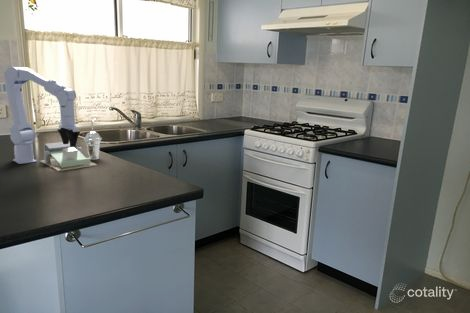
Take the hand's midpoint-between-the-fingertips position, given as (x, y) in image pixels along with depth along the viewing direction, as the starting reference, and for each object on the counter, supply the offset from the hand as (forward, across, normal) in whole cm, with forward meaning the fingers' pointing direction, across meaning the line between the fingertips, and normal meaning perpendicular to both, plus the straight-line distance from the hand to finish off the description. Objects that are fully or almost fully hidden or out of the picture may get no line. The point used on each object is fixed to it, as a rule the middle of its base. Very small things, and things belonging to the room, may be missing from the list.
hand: (69, 145), depth 175 cm
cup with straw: (+10, -8, +15) cm, 20 cm away
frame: (+10, -5, +1) cm, 11 cm away
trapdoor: (+8, -7, +1) cm, 10 cm away
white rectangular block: (+7, 0, 0) cm, 7 cm away
